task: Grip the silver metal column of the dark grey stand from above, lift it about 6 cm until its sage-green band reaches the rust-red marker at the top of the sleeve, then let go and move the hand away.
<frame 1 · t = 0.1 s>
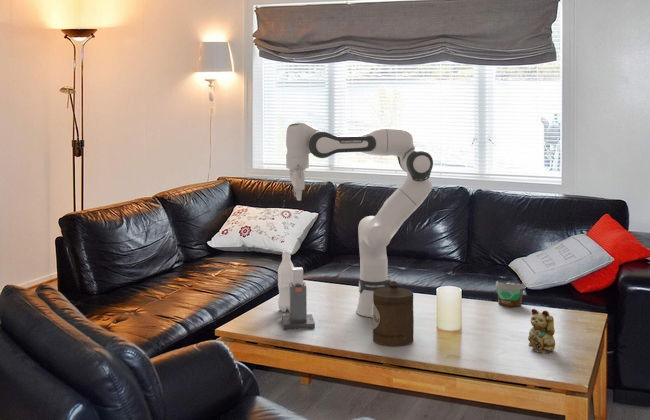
hand: (297, 198, 313), 48 cm above the table, tool pointing down, fingers open, 8 cm apart
water bottle: (286, 311, 327), on the table
decorative figurine: (542, 350, 279), on the table
column: (297, 293, 307), point 12 cm above the table, slide at 0.0 cm
wooden container: (392, 340, 290), on the table
food container: (508, 306, 332), on the table
stand: (298, 324, 309), on the table
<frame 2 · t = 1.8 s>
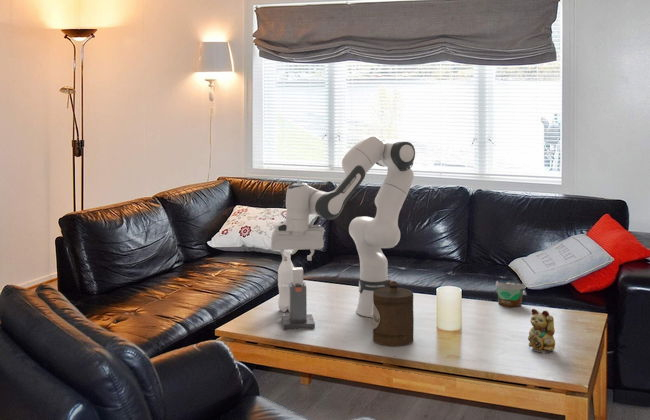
hand: (297, 260, 304), 25 cm above the table, tool pointing down, fingers open, 8 cm apart
nothing on the table moved.
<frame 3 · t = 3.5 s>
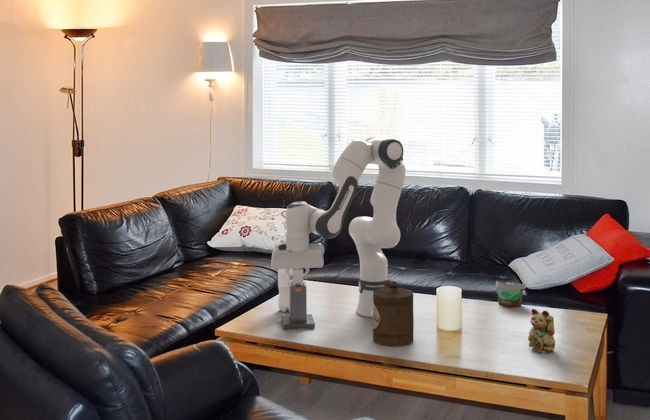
hand: (297, 279, 306), 18 cm above the table, tool pointing down, fingers closed on column, 4 cm apart
column: (297, 293, 307), point 12 cm above the table, slide at 0.0 cm, touching gripper
everything else where it was.
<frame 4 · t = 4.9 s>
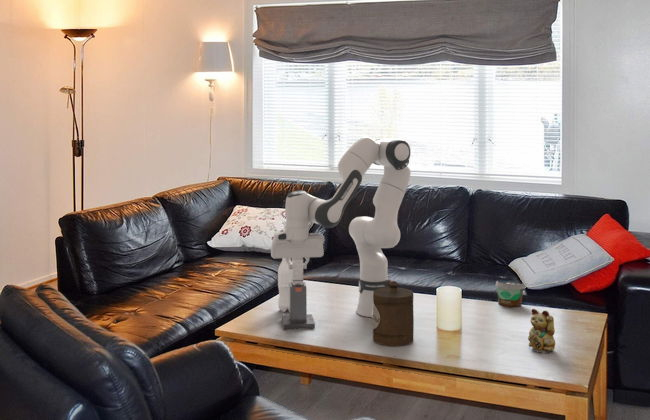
hand: (297, 268, 305), 22 cm above the table, tool pointing down, fingers closed on column, 4 cm apart
column: (297, 283, 306), point 16 cm above the table, slide at 4.1 cm, touching gripper
everything else where it was.
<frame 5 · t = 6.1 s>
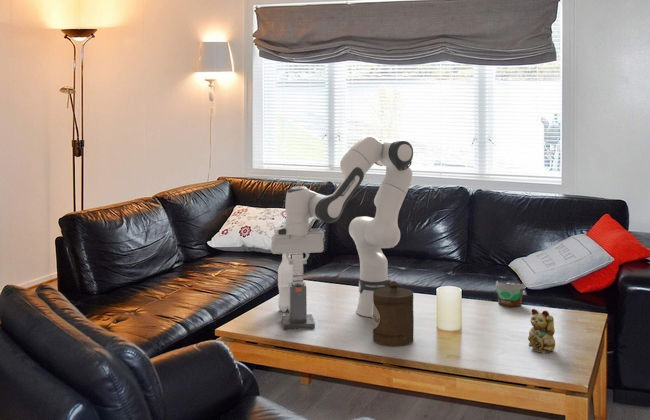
hand: (297, 264, 305), 24 cm above the table, tool pointing down, fingers closed on column, 4 cm apart
column: (297, 278, 306), point 18 cm above the table, slide at 5.9 cm, touching gripper
everything else where it was.
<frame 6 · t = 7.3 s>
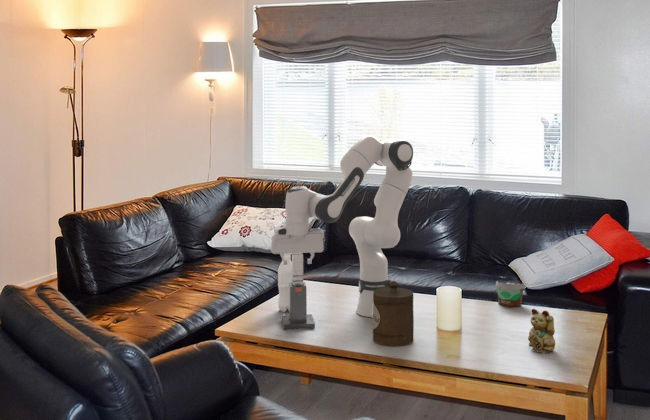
hand: (297, 264, 305), 24 cm above the table, tool pointing down, fingers open, 8 cm apart
column: (297, 278, 306), point 18 cm above the table, slide at 5.9 cm
everything else where it was.
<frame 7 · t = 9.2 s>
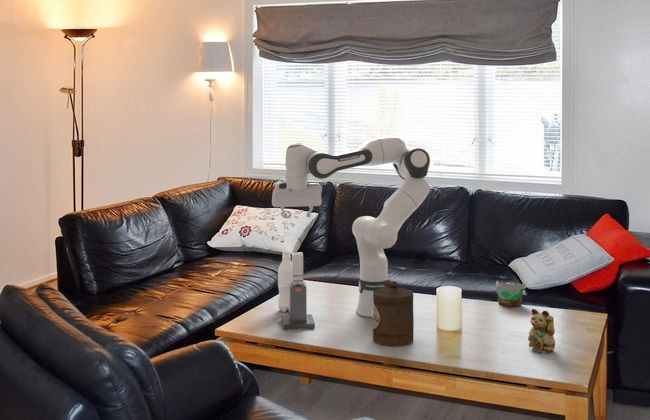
hand: (296, 217, 322), 39 cm above the table, tool pointing down, fingers open, 8 cm apart
nothing on the table moved.
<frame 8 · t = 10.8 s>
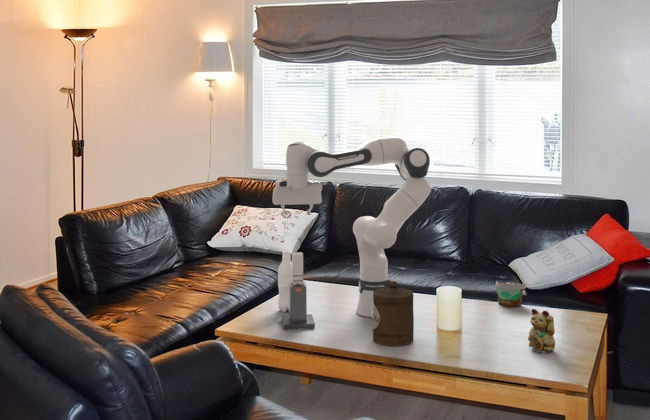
hand: (297, 215, 326), 39 cm above the table, tool pointing down, fingers open, 8 cm apart
nothing on the table moved.
at the end: column slide at 5.9 cm; the gripper is holding nothing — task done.
